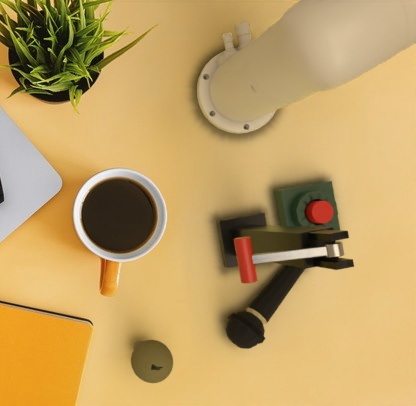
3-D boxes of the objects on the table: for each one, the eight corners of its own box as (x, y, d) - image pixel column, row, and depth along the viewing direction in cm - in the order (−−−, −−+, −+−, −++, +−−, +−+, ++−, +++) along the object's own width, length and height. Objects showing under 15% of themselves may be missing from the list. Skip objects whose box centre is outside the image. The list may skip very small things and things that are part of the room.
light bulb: (127, 372, 80) (142, 394, 70) (117, 335, 80) (130, 352, 70) (163, 360, 81) (183, 381, 71) (153, 324, 81) (171, 339, 71)
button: (303, 203, 79) (310, 202, 77) (324, 199, 79) (331, 198, 78) (307, 224, 79) (314, 225, 77) (328, 221, 79) (335, 221, 78)
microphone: (294, 235, 86) (214, 332, 82) (307, 225, 80) (222, 328, 76) (324, 258, 84) (244, 358, 80) (339, 249, 79) (255, 355, 75)
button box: (273, 190, 83) (286, 189, 79) (323, 181, 83) (338, 180, 79) (282, 242, 83) (295, 244, 79) (332, 233, 83) (348, 234, 79)
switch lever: (234, 238, 63) (233, 239, 61) (338, 224, 59) (340, 225, 57) (241, 281, 63) (240, 284, 61) (346, 270, 59) (348, 273, 57)
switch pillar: (216, 220, 82) (304, 222, 56) (261, 212, 82) (368, 211, 57) (224, 267, 82) (316, 289, 56) (269, 258, 82) (379, 277, 57)
